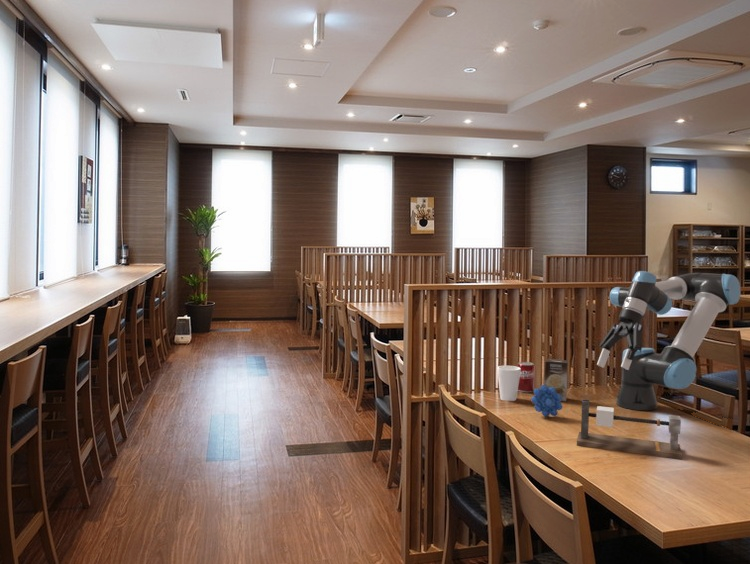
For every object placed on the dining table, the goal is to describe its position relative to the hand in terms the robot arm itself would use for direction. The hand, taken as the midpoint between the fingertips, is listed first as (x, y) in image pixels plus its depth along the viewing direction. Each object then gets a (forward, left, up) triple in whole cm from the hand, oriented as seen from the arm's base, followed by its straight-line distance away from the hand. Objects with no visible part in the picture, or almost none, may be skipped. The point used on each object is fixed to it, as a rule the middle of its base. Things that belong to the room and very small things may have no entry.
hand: (612, 367), depth 210 cm
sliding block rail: (+12, +18, -21) cm, 30 cm away
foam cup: (+8, -45, -21) cm, 51 cm away
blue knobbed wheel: (+12, -18, -21) cm, 31 cm away
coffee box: (-10, -37, -21) cm, 44 cm away
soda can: (-8, -53, -21) cm, 58 cm away
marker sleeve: (+16, +12, -15) cm, 25 cm away
